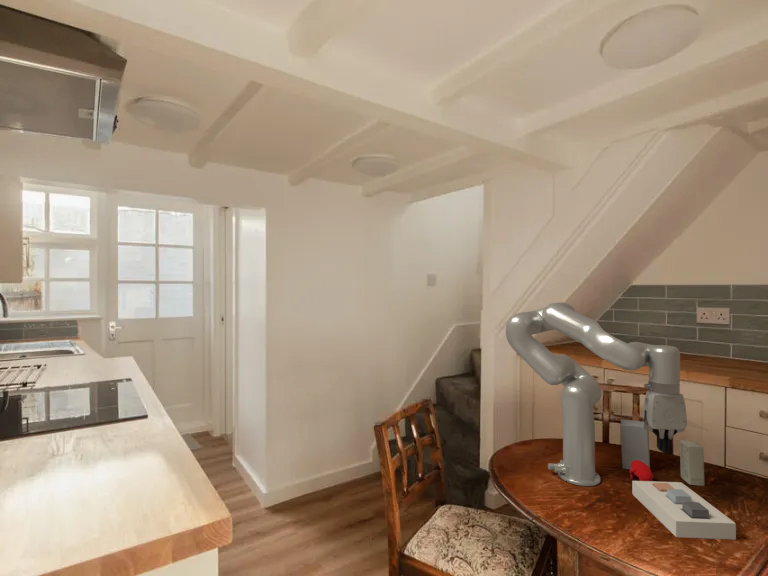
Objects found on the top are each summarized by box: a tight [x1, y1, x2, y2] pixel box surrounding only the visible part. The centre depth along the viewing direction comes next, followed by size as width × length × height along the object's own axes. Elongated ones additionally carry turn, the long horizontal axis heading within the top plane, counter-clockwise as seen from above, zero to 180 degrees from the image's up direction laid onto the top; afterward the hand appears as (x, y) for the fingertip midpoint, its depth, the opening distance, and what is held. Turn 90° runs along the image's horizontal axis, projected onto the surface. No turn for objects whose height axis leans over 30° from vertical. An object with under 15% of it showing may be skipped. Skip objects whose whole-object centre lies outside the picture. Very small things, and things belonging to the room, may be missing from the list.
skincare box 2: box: [679, 439, 705, 487], centre depth 136 cm, size 6×4×12 cm
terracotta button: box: [653, 483, 674, 492], centre depth 123 cm, size 4×4×3 cm
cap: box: [628, 460, 655, 481], centre depth 136 cm, size 8×6×6 cm
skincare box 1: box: [620, 418, 651, 471], centre depth 146 cm, size 8×7×16 cm
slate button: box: [667, 489, 691, 504], centre depth 116 cm, size 4×4×3 cm
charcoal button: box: [682, 502, 709, 519], centre depth 109 cm, size 4×4×3 cm
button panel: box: [631, 480, 737, 541], centre depth 116 cm, size 14×22×4 cm, turn 175°
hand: (663, 450), depth 123 cm, fingers closed
